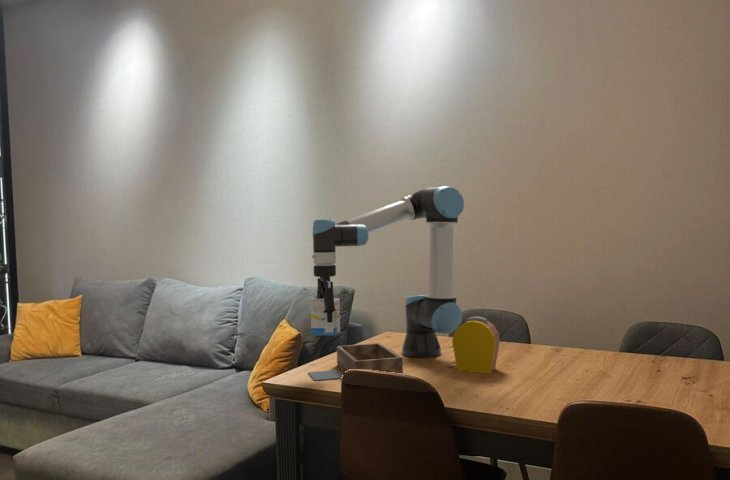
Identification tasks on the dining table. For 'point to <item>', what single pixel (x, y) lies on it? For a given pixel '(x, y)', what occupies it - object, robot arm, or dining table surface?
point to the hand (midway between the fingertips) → (325, 329)
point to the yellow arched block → (476, 345)
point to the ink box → (319, 317)
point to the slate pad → (326, 375)
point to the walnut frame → (369, 358)
